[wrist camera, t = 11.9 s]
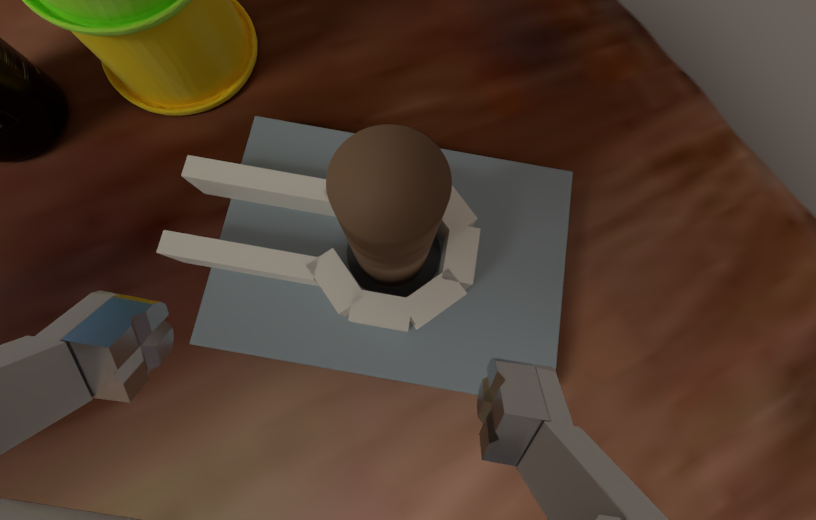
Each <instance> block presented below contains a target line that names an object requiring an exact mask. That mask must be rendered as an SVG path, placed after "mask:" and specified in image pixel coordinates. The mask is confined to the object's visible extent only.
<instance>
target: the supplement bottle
mask: <svg viewBox="0 0 816 520" xmlns="http://www.w3.org/2000/svg"><path fill="white" fill-rule="evenodd" d="M67 117H68V105H67V100H66V97H65V95H64V93H63V91H62V89H61V88H60V87H59V85H58V84H57V83H56V82H55V81H54V80H53V79H52V78H51V77H49V76H48V75H47V74H46V73H44V72H43V71H42V70H41V69H40V68H38V67H37V66H36V65H35V64H33V63H32V62H31V61H29V60H28V59H27V58H26V57H24V56H23V55H22V54H20V53H19V52H18V51H17V50H15V49H14V48H13V47H12V46H10V45H9V44H8V43H6V42H5V41H4V40H3V39H1V38H0V162H15V161H21V160H25V159H28V158H31V157H33V156H35V155H37V154H39V153H41V152H43V151H44V150H46V149H47V148H48V147H50V146H51V145H52V144H53V143H54V142H55V141H56V140H57V139H58V137H59V136H60V134H61V133H62V131H63V129H64V127H65V125H66V121H67Z"/></svg>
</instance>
